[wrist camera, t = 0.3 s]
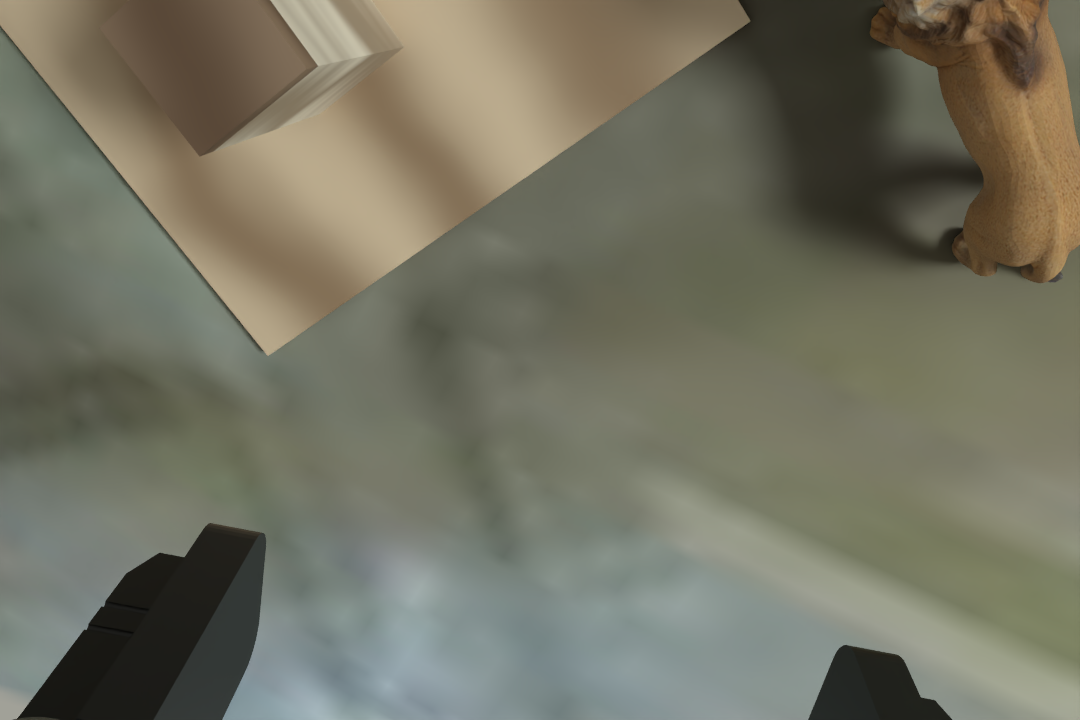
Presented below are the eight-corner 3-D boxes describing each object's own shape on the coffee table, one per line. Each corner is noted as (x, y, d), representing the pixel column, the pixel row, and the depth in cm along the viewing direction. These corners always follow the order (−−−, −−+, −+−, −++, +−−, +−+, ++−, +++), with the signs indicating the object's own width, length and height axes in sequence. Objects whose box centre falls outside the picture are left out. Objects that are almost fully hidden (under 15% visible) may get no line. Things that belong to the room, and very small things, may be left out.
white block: (332, -57, 31) (204, -71, 23) (404, 47, 32) (307, 69, 24) (248, 16, 33) (98, 27, 24) (320, 113, 33) (199, 156, 25)
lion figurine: (770, -57, 30) (801, -72, 22) (927, -168, 28) (1027, -232, 20) (981, 311, 33) (1078, 420, 25) (1133, 232, 32) (1291, 320, 23)
